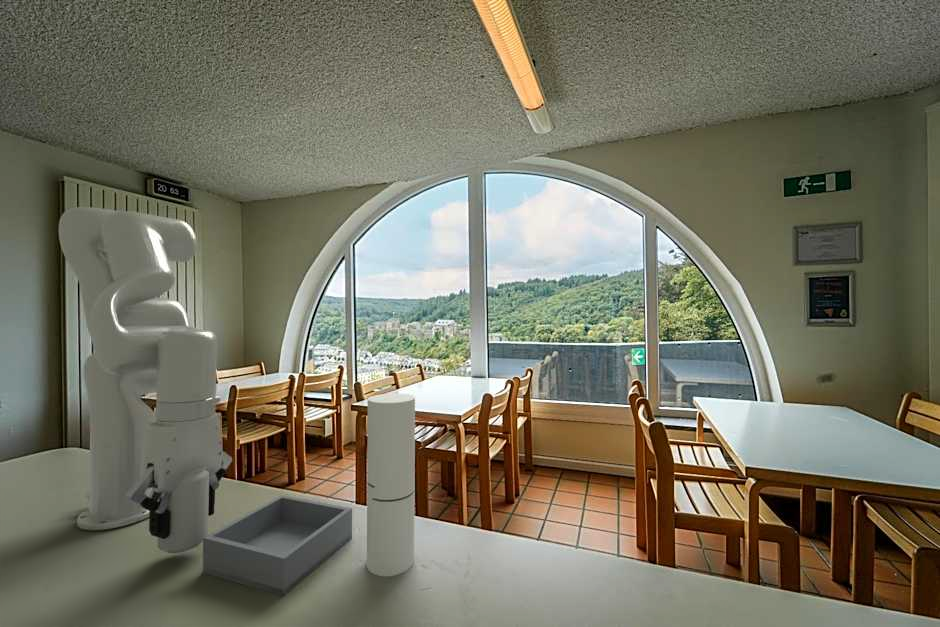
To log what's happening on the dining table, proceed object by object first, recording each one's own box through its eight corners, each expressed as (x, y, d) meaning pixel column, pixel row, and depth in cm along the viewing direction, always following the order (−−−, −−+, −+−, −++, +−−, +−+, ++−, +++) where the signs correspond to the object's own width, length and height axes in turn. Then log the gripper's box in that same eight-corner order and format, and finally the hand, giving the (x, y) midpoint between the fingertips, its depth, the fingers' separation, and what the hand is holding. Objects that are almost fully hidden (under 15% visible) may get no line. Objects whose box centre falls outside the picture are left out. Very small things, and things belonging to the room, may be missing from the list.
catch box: (202, 572, 59) (203, 537, 59) (281, 522, 73) (282, 495, 73) (284, 596, 54) (284, 558, 54) (351, 538, 68) (352, 508, 68)
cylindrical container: (396, 542, 67) (397, 391, 67) (423, 561, 62) (424, 398, 62) (357, 561, 62) (358, 397, 62) (383, 583, 57) (384, 405, 57)
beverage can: (182, 559, 59) (184, 477, 59) (146, 552, 60) (148, 472, 60) (217, 535, 65) (219, 461, 65) (184, 529, 66) (186, 457, 66)
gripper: (219, 396, 72) (217, 496, 72) (104, 420, 55) (101, 549, 56) (252, 400, 69) (249, 504, 70) (141, 427, 53) (138, 562, 53)
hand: (183, 523), depth 63 cm, fingers closed on beverage can, 6 cm apart
